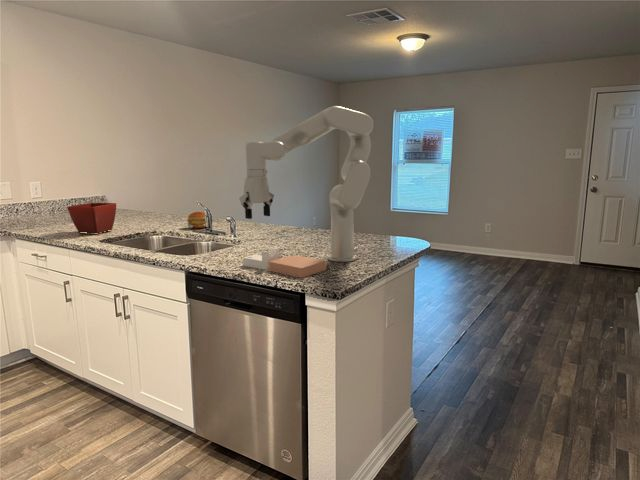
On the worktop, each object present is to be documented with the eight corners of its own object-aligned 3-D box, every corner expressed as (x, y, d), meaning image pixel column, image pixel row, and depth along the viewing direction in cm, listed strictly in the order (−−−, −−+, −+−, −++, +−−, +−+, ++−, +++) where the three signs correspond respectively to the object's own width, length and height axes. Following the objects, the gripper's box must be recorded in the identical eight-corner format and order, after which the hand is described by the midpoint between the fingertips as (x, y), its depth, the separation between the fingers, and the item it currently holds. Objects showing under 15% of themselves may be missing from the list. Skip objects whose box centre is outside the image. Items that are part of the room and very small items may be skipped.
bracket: (278, 266, 180) (278, 248, 179) (267, 270, 174) (266, 251, 173) (255, 262, 187) (254, 245, 186) (243, 266, 182) (242, 248, 180)
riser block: (294, 264, 184) (293, 255, 183) (325, 270, 173) (325, 260, 172) (269, 271, 173) (269, 261, 173) (301, 278, 163) (301, 268, 162)
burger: (214, 227, 279) (213, 211, 277) (198, 230, 268) (197, 214, 266) (199, 225, 286) (198, 210, 284) (182, 228, 275) (181, 212, 273)
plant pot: (69, 234, 259) (66, 206, 256) (94, 229, 277) (91, 202, 273) (96, 236, 253) (92, 206, 250) (120, 230, 271) (117, 203, 268)
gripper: (266, 172, 183) (267, 214, 186) (232, 174, 170) (234, 218, 173) (278, 173, 178) (280, 215, 181) (245, 175, 165) (247, 220, 168)
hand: (258, 217), depth 177 cm, fingers open, 9 cm apart
